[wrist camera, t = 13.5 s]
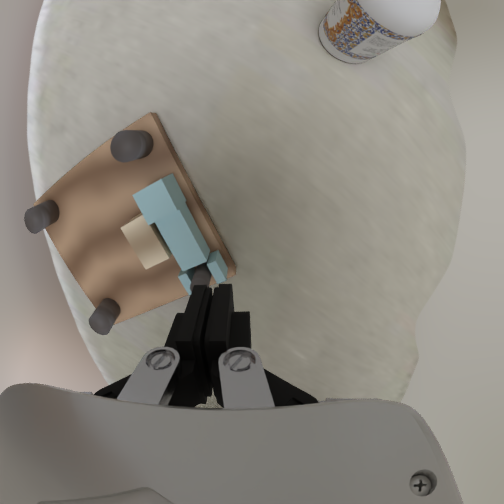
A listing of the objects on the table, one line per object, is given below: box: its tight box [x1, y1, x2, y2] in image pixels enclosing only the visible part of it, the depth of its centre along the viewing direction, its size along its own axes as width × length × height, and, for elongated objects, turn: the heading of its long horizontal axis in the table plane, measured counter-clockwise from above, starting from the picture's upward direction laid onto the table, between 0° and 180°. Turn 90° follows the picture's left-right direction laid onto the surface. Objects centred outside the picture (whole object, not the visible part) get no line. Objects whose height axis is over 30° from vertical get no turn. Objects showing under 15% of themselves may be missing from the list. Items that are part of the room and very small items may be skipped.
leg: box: [132, 173, 228, 295], centre depth 27 cm, size 12×4×4 cm, turn 23°
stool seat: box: [24, 112, 236, 335], centre depth 27 cm, size 20×20×7 cm
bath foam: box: [319, 0, 441, 64], centre depth 13 cm, size 7×7×20 cm
